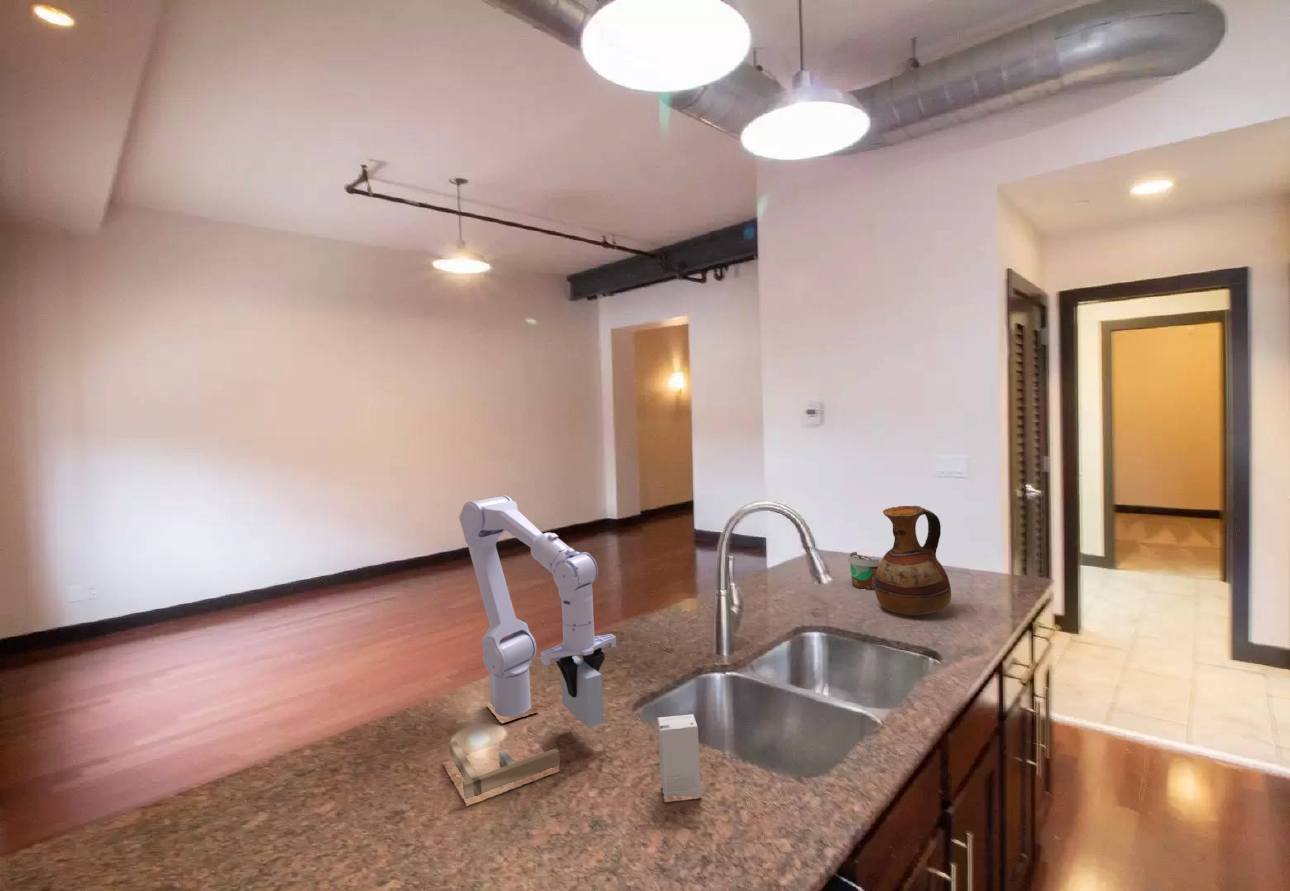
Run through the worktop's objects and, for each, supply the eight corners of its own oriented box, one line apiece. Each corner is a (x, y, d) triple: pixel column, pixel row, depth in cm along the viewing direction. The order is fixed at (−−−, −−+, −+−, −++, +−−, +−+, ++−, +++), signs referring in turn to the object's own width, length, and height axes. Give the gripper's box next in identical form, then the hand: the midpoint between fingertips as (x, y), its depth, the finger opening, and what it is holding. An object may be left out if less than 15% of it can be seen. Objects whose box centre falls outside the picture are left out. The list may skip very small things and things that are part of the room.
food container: (840, 583, 207) (839, 553, 206) (856, 580, 208) (855, 551, 208) (863, 593, 195) (863, 562, 194) (880, 591, 197) (880, 559, 196)
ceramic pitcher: (860, 603, 185) (859, 503, 183) (916, 595, 191) (915, 498, 189) (907, 625, 167) (905, 514, 165) (967, 615, 173) (967, 507, 171)
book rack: (443, 765, 110) (441, 745, 109) (529, 736, 118) (528, 717, 118) (466, 807, 98) (465, 785, 98) (560, 771, 106) (559, 751, 106)
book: (562, 704, 120) (560, 658, 119) (576, 699, 122) (574, 654, 121) (588, 728, 111) (586, 678, 110) (603, 723, 112) (601, 674, 112)
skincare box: (697, 784, 101) (694, 711, 101) (702, 801, 97) (699, 726, 96) (659, 787, 101) (656, 715, 100) (663, 805, 96) (660, 729, 96)
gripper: (550, 636, 108) (554, 712, 109) (623, 618, 115) (625, 689, 116) (534, 624, 114) (538, 697, 115) (604, 608, 121) (607, 676, 122)
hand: (581, 692), depth 116 cm, fingers closed on book, 3 cm apart
